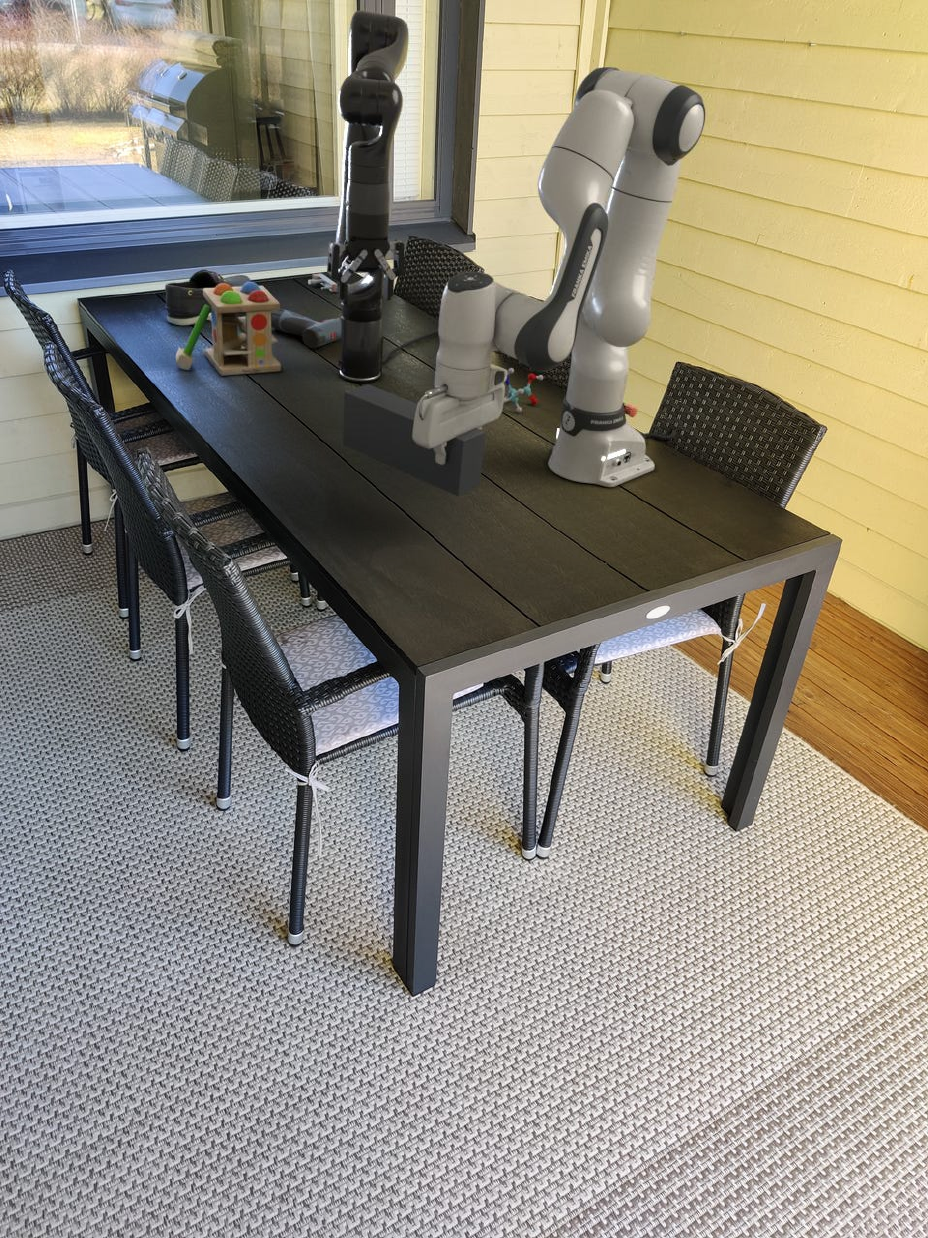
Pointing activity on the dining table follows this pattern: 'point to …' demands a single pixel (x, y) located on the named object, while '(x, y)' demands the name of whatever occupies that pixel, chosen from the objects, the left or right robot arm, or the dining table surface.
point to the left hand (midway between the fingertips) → (365, 300)
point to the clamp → (324, 282)
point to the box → (408, 440)
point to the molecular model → (521, 390)
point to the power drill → (307, 327)
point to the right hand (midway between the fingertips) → (455, 456)
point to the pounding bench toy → (229, 347)
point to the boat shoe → (194, 295)
